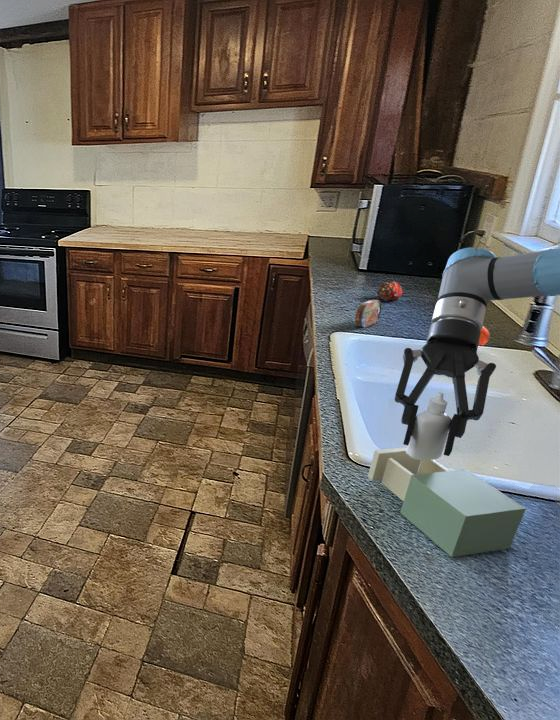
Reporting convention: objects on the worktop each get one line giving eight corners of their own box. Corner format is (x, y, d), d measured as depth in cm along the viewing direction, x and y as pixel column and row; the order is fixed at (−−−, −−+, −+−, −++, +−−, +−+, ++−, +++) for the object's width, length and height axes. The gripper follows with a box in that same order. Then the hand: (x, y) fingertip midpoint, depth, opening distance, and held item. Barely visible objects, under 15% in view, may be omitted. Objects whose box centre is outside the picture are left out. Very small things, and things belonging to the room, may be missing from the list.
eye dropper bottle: (402, 446, 94) (418, 385, 90) (438, 452, 93) (457, 390, 88) (406, 458, 91) (424, 396, 86) (444, 465, 89) (464, 401, 84)
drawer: (363, 473, 100) (370, 446, 97) (407, 468, 101) (414, 442, 99) (405, 509, 90) (414, 480, 88) (453, 503, 92) (463, 474, 89)
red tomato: (456, 347, 166) (462, 325, 163) (454, 340, 171) (460, 319, 169) (486, 351, 162) (494, 330, 160) (484, 345, 168) (491, 323, 165)
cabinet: (400, 512, 90) (411, 475, 88) (453, 505, 92) (466, 468, 89) (451, 557, 81) (466, 516, 78) (509, 548, 83) (526, 508, 80)
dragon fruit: (381, 306, 212) (386, 304, 221) (403, 297, 207) (408, 296, 216) (371, 287, 213) (378, 286, 222) (394, 278, 208) (399, 277, 217)
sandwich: (360, 329, 180) (365, 306, 177) (351, 327, 183) (356, 304, 179) (379, 321, 189) (384, 298, 186) (370, 319, 192) (375, 296, 188)
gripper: (399, 308, 96) (367, 424, 89) (526, 327, 86) (500, 458, 80) (395, 328, 102) (365, 438, 95) (513, 347, 92) (488, 471, 86)
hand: (426, 447), depth 88 cm, fingers closed on eye dropper bottle, 5 cm apart
